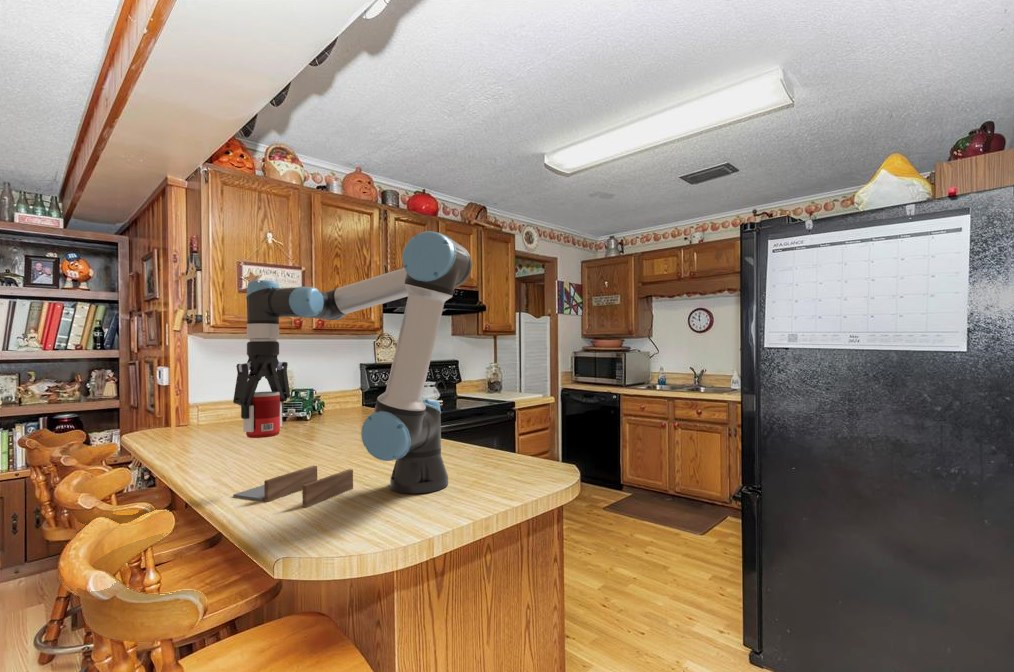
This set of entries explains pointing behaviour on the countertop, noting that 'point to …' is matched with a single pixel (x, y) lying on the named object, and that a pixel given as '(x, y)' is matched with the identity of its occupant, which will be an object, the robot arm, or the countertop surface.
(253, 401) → the canned food
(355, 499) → the countertop surface
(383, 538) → the countertop surface
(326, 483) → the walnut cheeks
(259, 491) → the slate mat
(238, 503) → the countertop surface
